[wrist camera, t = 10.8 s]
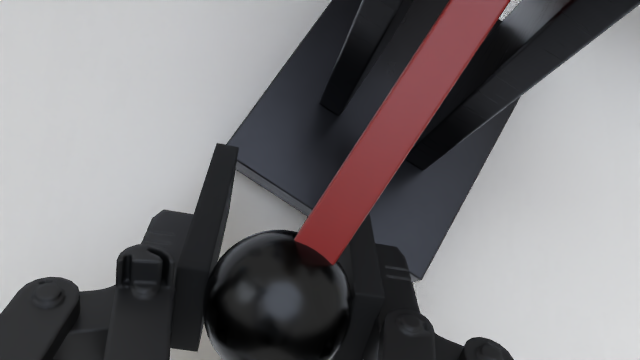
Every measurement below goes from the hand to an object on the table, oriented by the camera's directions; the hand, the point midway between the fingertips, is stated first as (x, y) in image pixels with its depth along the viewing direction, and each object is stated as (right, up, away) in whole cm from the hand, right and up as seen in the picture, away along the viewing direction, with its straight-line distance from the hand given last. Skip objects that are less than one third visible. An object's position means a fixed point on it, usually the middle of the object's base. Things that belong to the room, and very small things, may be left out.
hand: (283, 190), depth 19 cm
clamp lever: (+3, +2, -5) cm, 6 cm away
